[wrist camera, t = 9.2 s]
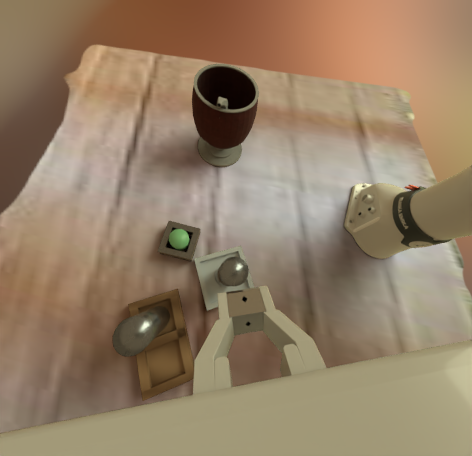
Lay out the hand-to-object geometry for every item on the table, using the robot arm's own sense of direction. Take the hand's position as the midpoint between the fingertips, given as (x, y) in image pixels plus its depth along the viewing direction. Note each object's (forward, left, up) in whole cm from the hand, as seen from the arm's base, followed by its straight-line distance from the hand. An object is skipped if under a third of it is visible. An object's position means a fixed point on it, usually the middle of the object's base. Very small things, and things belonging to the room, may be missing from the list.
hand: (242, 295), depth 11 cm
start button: (-8, -10, -31) cm, 33 cm away
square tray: (-3, +1, -31) cm, 31 cm away
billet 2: (-3, +1, -31) cm, 31 cm away
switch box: (-8, -10, -31) cm, 34 cm away
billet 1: (+8, -9, -30) cm, 32 cm away
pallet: (+11, -8, -31) cm, 34 cm away
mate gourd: (-36, -8, -32) cm, 49 cm away
